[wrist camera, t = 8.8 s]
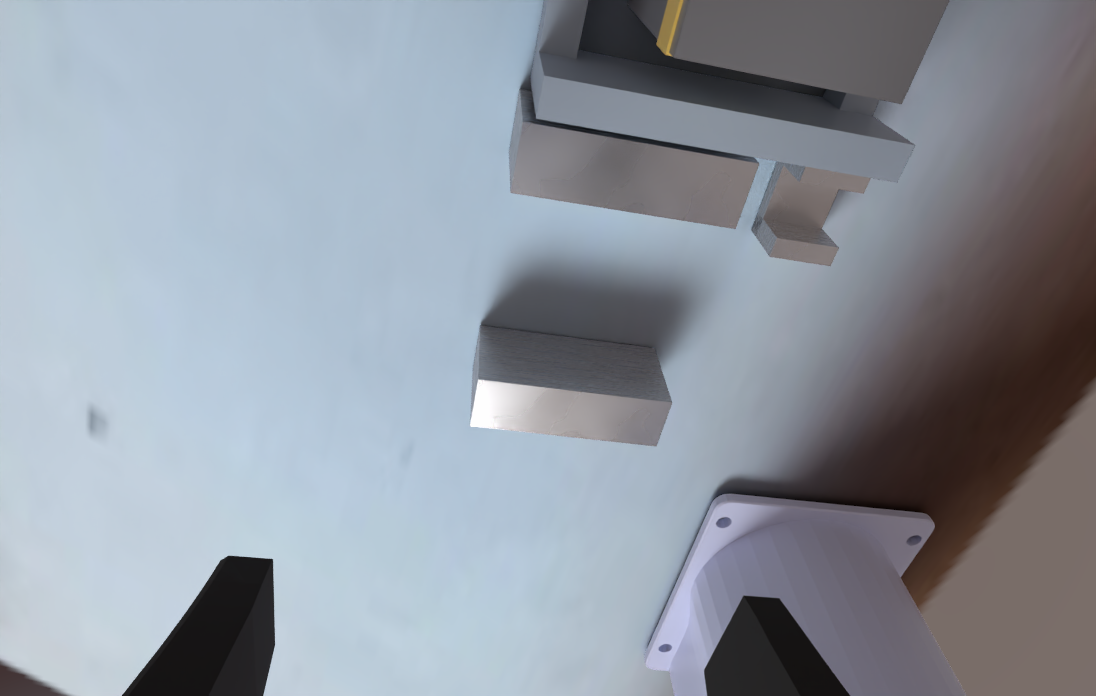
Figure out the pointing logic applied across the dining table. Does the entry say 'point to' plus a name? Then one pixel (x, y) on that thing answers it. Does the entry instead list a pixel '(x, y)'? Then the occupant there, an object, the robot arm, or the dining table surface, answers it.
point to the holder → (705, 107)
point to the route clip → (801, 212)
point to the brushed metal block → (580, 364)
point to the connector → (802, 39)
